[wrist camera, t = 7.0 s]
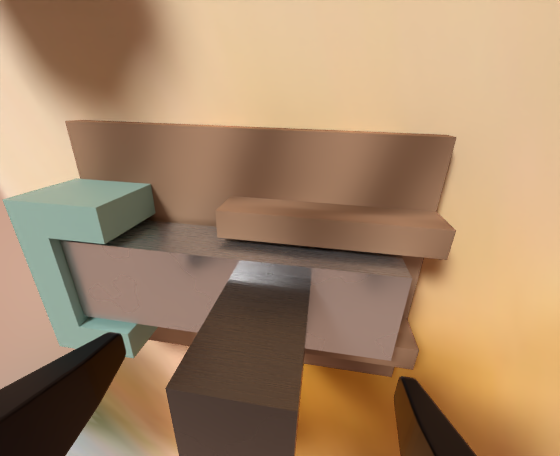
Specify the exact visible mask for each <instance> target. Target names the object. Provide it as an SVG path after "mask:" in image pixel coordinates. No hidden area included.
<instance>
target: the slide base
mask: <svg viewBox="0 0 560 456" xmlns="http://www.w3.org/2000/svg"><path fill="white" fill-rule="evenodd" d="M65 122H66V126H67V130H68V134H69V137H70V141H71V145H72V149H73V153H74V156H75V160H76V164H77V168H78V171H79V175H80V179H89V180H103V181H117V182H130V183H144V184H151V188H152V194H153V200H154V206H155V214H153V215H152V216H150V217H149V218H147V219H145V220H149V221H159V222H170V223H181V224H192V225H203V226H214V227H217V237H218V238H228V239H238V240H249V241H259V242H269V243H280V244H290V245H300V246H310V247H321V248H331V249H341V250H352V251H362V252H372V253H383V254H393V255H401V256H402V258H403V260H404V263H405V265H406V267H407V269H408V271H409V273H410V275H411V277H412V282H411V286H410V289H409V293H408V297H407V301H406V305H405V309H404V312H403V316H402V320H401V324H400V328H399V332H398V336H397V339H396V343H395V347H394V351H393V355H392V359H391V361H388V360H381V359H374V358H367V357H360V356H353V355H347V354H340V353H333V352H326V351H319V350H313V349H306V348H305V355H304V364H310V365H317V366H323V367H330V368H336V369H343V370H349V371H356V372H362V373H369V374H375V375H382V376H388V377H392V374H393V370H394V367H399V368H405V369H412V370H413V368H414V365H415V361H416V358H417V355H418V352H419V349H418V346H417V344H416V341H415V338H414V336H413V333H412V330H411V328H410V325H409V322H408V320H407V318H408V314H409V311H410V307H411V303H412V300H413V296H414V292H415V289H416V285H417V281H418V277H419V274H420V270H421V266H422V263H423V259H424V258H434V259H444V260H447V258H448V255H449V252H450V248H451V245H452V242H453V239H454V236H455V232H456V230H455V229H454V228H453V227H452V226H451V225H450V224H449V223H448V222H447V221H446V220H445V219H444V218H442V217H441V216H440V215H439V214H438V213H437V212H436V211H437V207H438V204H439V200H440V196H441V192H442V189H443V185H444V181H445V178H446V174H447V170H448V167H449V163H450V159H451V156H452V152H453V148H454V144H455V141H456V137H453V136H449V135H435V134H410V133H386V132H361V131H337V130H312V129H288V128H263V127H239V126H214V125H190V124H165V123H141V122H116V121H92V120H75V121H65ZM196 335H197V332H190V331H183V330H176V329H169V328H163V327H158V328H157V329H156V330H155V332H154V333H153V334H152V335H151V337H150V338H149V339H148V340H155V341H161V342H168V343H174V344H181V345H187V346H190V345H191V344H192V342H193V340H194V338H195V337H196Z"/></svg>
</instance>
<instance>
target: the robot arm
mask: <svg viewBox="0 0 560 456" xmlns="http://www.w3.org/2000/svg"><path fill="white" fill-rule="evenodd" d="M125 356H126V348H125V344H124V340H123V337H122V335H121V334H120V333H115V332H107V333H105V334H103V335H101V336H100V337H98V338H96V339H94V340H92V341H90V342H88V343H86V344H85V345H83V346H81V347H79V348H77V349H75V350H73V351H71V352H70V353H68V354H66V355H64V356H62V357H60V358H58V359H57V360H55V361H53V362H51V363H49V364H47V365H45V366H43V367H42V368H40V369H38V370H36V371H34V372H32V373H31V374H28V375H27V376H25V377H23V378H21V379H19V380H17V381H15V382H14V383H12V384H10V385H8V386H6V387H4V388H2V389H1V390H0V456H66V454H67V453H68V451H69V450H70V448H71V447H72V445H73V443H74V442H75V440H76V439H77V437H78V436H79V434H80V433H81V431H82V430H83V428H84V427H85V425H86V424H87V422H88V421H89V419H90V418H91V416H92V415H93V413H94V412H95V410H96V409H97V407H98V405H99V404H100V402H101V400H102V399H103V397H104V395H105V393H106V391H107V390H108V388H109V386H110V384H111V382H112V381H113V379H114V377H115V375H116V373H117V371H118V370H119V368H120V366H121V364H122V362H123V360H124V358H125ZM394 406H395V414H396V422H397V430H398V439H399V447H400V455H401V456H477V455H476V454H475V453H474V452H473V450H472V449H471V448H470V447H469V445H468V444H467V443H466V442H465V440H464V439H463V438H462V437H461V435H460V434H459V433H458V432H457V430H456V429H455V428H454V427H453V425H452V424H451V423H450V421H449V420H448V419H447V418H446V416H445V415H444V414H443V413H442V411H441V410H440V409H439V408H438V406H437V405H436V404H435V403H434V401H433V400H432V399H431V398H430V396H429V395H428V394H427V393H426V391H425V390H424V389H423V388H422V386H421V385H420V384H419V383H418V381H417V380H416V379H414V378H410V377H404V376H401V377H400V378H399V380H398V384H397V387H396V391H395V394H394Z"/></svg>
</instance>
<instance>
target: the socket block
mask: <svg viewBox="0 0 560 456" xmlns="http://www.w3.org/2000/svg"><path fill="white" fill-rule="evenodd" d="M3 202H4V205H5V207H6V210H7V212H8V215H9V217H10V220H11V222H12V225H13V228H14V230H15V233H16V235H17V238H18V240H19V243H20V246H21V248H22V250H23V253H24V256H25V258H26V261H27V263H28V266H29V268H30V271H31V273H32V276H33V279H34V281H35V284H36V286H37V289H38V291H39V294H40V297H41V299H42V302H43V304H44V307H45V309H46V312H47V314H48V317H49V320H50V322H51V324H52V327H53V330H54V332H55V335H56V337H57V340H58V343H59V345H60V346H62V347H68V348H75V349H77V348H79V347H81V346H83V345H85V344H86V343H88V342H90V341H92V340H94V339H96V338H98V337H100V336H101V335H103V334H105V333H107V332H115V333H120V334H121V335H122V337H123V340H124V344H125V348H126V356H125V357H129V358H134V357H135V356H136V355H137V353H138V352H139V351H140V350H141V348H142V347H143V346H144V344H145V343H146V342H147V341H148V339H149V338H150V337H151V335H152V334H153V333H154V332H155V330H156V329H157V328H158V327H156V326H149V325H142V324H135V323H128V322H122V321H115V320H108V319H101V318H94V317H88V316H85V315H84V312H83V309H82V306H81V303H80V300H79V297H78V294H77V291H76V288H75V285H74V281H73V278H72V275H71V272H70V269H69V266H68V263H67V260H66V257H65V254H64V251H63V248H62V245H61V240H70V241H79V242H88V243H98V244H106V243H108V242H109V241H111V240H113V239H114V238H116V237H117V236H119V235H121V234H122V233H124V232H126V231H127V230H129V229H131V228H132V227H134V226H135V225H137V224H139V223H140V222H142V221H144V220H145V219H147V218H149V217H150V216H152V215H153V214H155V206H154V200H153V194H152V188H151V184H144V183H130V182H117V181H103V180H89V179H74V180H70V181H67V182H63V183H60V184H56V185H53V186H49V187H45V188H42V189H38V190H35V191H31V192H28V193H24V194H21V195H17V196H14V197H10V198H7V199H3Z"/></svg>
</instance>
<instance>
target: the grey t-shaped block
mask: <svg viewBox="0 0 560 456" xmlns="http://www.w3.org/2000/svg"><path fill="white" fill-rule="evenodd" d="M61 245H62V248H63V251H64V254H65V257H66V260H67V263H68V266H69V269H70V272H71V275H72V278H73V281H74V285H75V288H76V291H77V294H78V297H79V300H80V303H81V306H82V309H83V312H84V315H85V316H88V317H94V318H101V319H108V320H115V321H122V322H128V323H135V324H142V325H149V326H156V327H163V328H169V329H176V330H183V331H190V332H197V335H196V337H195V338H194V340H193V342H192V344H191V345H190V347H189V349H188V350H187V352H186V354H185V356H184V357H183V359H182V361H181V362H180V364H179V366H178V368H177V369H176V371H175V373H174V375H173V376H172V378H171V380H170V381H169V383H168V385H167V387H166V393H167V398H168V403H169V408H170V413H171V418H172V423H173V428H174V433H175V438H176V442H177V447H178V452H179V456H295V448H296V438H297V427H298V417H299V407H300V396H301V386H302V376H303V365H304V355H305V348H306V349H313V350H319V351H326V352H333V353H340V354H347V355H353V356H360V357H367V358H374V359H381V360H388V361H391V359H392V355H393V351H394V347H395V343H396V339H397V336H398V332H399V328H400V324H401V320H402V316H403V312H404V309H405V305H406V301H407V297H408V293H409V289H410V286H411V282H412V277H411V275H410V273H409V271H408V269H407V267H406V265H405V263H404V260H403V258H402V256H401V255H393V254H383V253H372V252H362V251H352V250H341V249H331V248H321V247H310V246H300V245H290V244H280V243H269V242H259V241H249V240H238V239H228V238H218V237H217V227H214V226H203V225H192V224H181V223H170V222H159V221H149V220H144V221H142V222H140V223H139V224H137V225H135V226H134V227H132V228H131V229H129V230H127V231H126V232H124V233H122V234H121V235H119V236H117V237H116V238H114V239H113V240H111V241H109V242H108V243H106V244H98V243H88V242H79V241H70V240H61Z"/></svg>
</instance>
